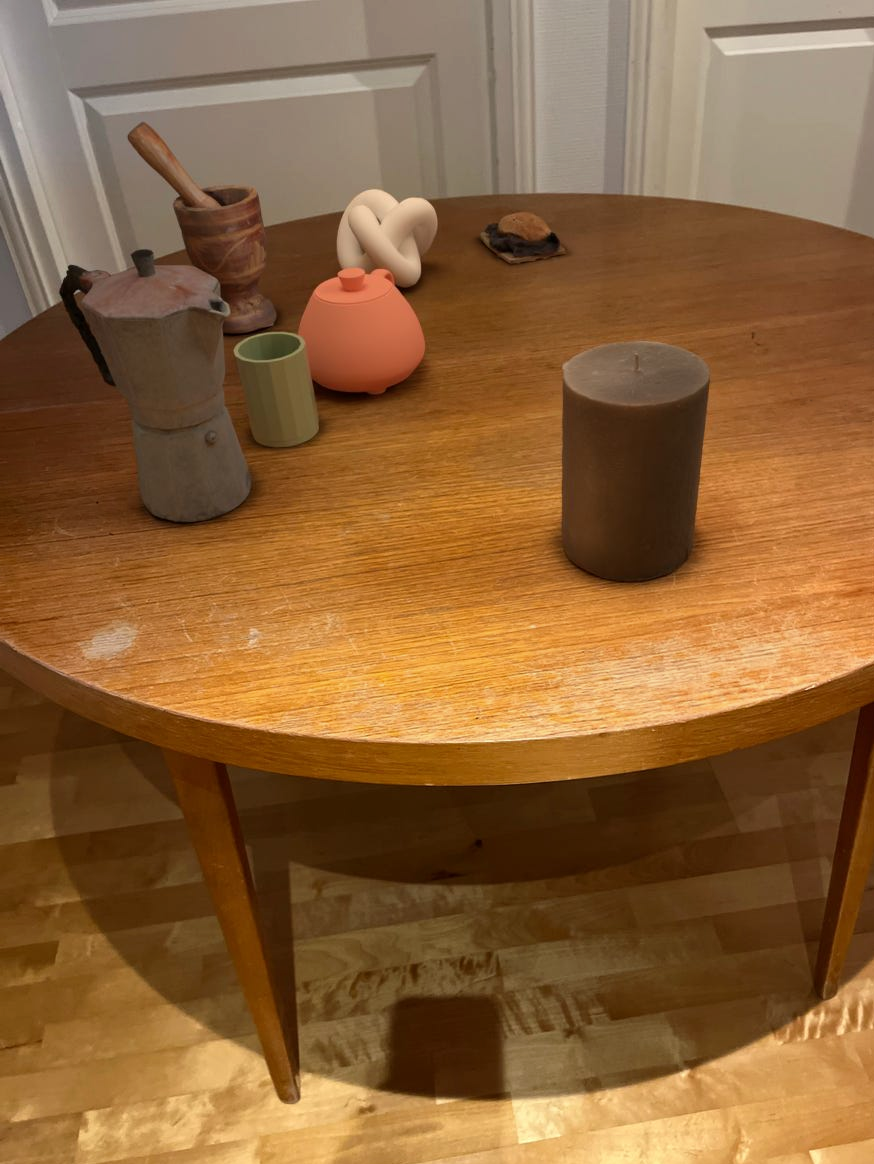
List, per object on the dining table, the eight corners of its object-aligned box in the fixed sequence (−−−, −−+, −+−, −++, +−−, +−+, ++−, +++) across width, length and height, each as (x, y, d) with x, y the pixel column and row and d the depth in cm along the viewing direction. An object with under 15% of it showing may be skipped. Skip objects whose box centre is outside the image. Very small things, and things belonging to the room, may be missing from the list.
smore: (475, 239, 124) (473, 209, 122) (536, 228, 126) (536, 198, 124) (505, 266, 116) (504, 234, 114) (570, 254, 118) (570, 222, 116)
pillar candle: (691, 587, 68) (715, 389, 58) (552, 577, 70) (552, 383, 60) (693, 510, 75) (714, 322, 66) (567, 503, 77) (569, 318, 67)
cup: (239, 440, 87) (219, 355, 82) (277, 410, 91) (261, 327, 86) (295, 452, 85) (278, 366, 80) (332, 421, 89) (318, 337, 84)
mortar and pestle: (173, 346, 103) (118, 140, 90) (176, 314, 110) (125, 118, 97) (283, 331, 105) (244, 127, 92) (279, 301, 111) (242, 106, 98)
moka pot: (244, 542, 75) (179, 283, 62) (80, 511, 80) (-13, 264, 67) (303, 478, 82) (255, 233, 69) (149, 453, 86) (77, 218, 73)
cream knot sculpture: (414, 251, 121) (407, 174, 116) (462, 280, 113) (458, 199, 108) (331, 273, 117) (319, 194, 111) (375, 304, 109) (365, 221, 104)
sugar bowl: (278, 395, 94) (258, 289, 87) (346, 336, 103) (332, 236, 97) (394, 412, 90) (381, 303, 83) (453, 349, 99) (446, 247, 93)
